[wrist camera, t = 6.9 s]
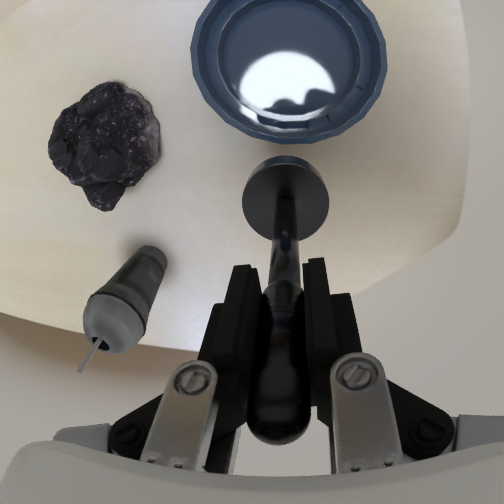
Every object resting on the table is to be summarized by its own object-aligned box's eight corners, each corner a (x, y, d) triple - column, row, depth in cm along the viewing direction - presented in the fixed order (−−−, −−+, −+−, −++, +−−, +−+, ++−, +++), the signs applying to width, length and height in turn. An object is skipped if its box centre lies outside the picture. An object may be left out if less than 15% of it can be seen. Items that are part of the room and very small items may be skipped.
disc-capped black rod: (341, 184, 19) (431, 418, 5) (296, 243, 21) (298, 480, 8) (272, 139, 18) (224, 346, 4) (231, 205, 20) (144, 436, 7)
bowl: (396, 47, 23) (419, 41, 18) (312, 162, 31) (318, 179, 26) (260, -35, 20) (254, -57, 15) (180, 85, 28) (158, 87, 23)
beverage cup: (127, 273, 41) (59, 383, 24) (128, 230, 37) (41, 340, 21) (174, 288, 42) (120, 410, 25) (180, 244, 38) (111, 372, 21)
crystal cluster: (74, 84, 28) (14, 102, 20) (168, 77, 27) (113, 89, 19) (82, 179, 36) (34, 214, 28) (168, 190, 35) (124, 234, 27)
